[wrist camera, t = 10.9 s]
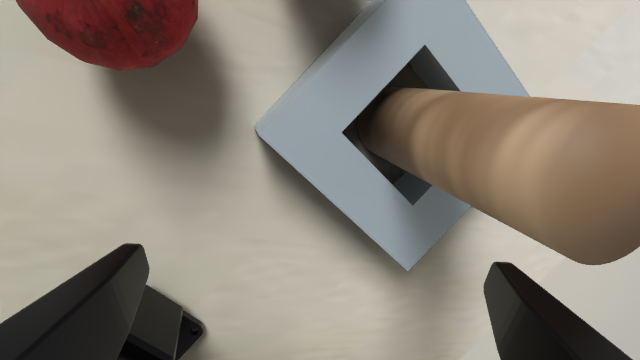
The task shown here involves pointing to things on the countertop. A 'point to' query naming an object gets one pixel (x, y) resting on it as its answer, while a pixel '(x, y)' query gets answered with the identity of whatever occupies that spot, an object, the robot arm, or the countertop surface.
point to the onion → (115, 28)
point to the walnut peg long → (521, 162)
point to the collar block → (360, 89)
